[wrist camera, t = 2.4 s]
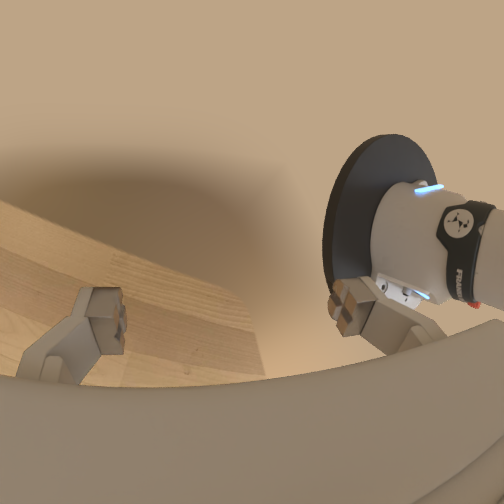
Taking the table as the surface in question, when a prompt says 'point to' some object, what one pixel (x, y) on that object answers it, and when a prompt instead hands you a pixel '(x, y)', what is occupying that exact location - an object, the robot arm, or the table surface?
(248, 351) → the table surface
